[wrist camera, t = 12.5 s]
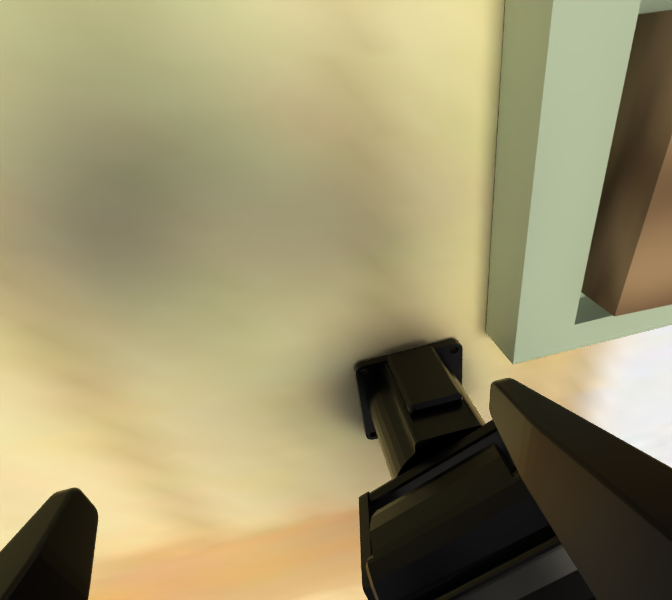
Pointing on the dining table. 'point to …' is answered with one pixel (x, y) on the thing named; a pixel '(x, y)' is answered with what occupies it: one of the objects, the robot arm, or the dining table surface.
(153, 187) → the dining table surface
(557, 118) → the sage cradle
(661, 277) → the walnut peg
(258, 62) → the dining table surface
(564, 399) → the dining table surface
